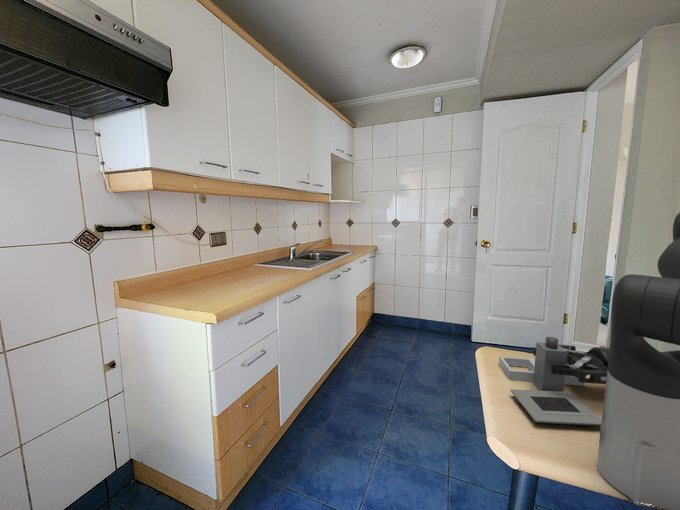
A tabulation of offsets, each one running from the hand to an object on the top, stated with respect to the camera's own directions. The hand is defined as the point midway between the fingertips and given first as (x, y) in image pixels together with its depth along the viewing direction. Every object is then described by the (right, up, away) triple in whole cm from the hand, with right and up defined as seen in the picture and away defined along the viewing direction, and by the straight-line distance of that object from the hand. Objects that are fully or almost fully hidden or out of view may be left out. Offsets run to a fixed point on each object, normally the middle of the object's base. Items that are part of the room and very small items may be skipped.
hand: (541, 359), depth 70 cm
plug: (+2, -8, +1) cm, 8 cm away
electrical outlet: (-3, -9, -7) cm, 12 cm away
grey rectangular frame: (+4, -7, +7) cm, 11 cm away
